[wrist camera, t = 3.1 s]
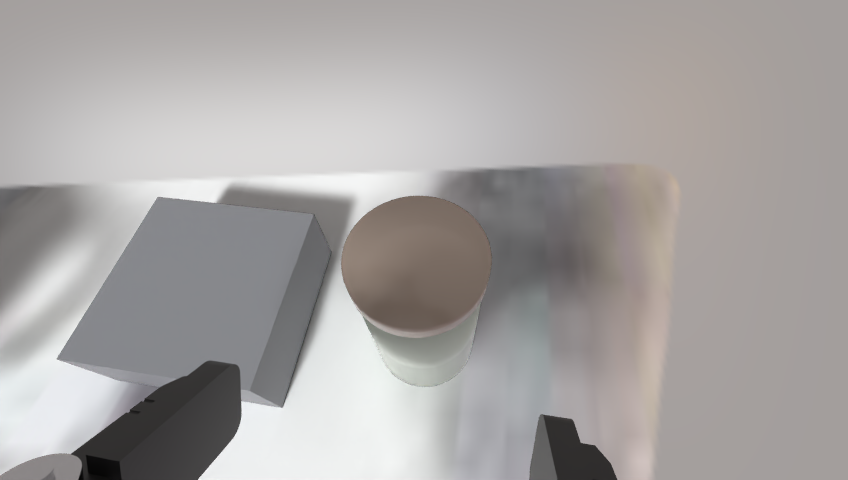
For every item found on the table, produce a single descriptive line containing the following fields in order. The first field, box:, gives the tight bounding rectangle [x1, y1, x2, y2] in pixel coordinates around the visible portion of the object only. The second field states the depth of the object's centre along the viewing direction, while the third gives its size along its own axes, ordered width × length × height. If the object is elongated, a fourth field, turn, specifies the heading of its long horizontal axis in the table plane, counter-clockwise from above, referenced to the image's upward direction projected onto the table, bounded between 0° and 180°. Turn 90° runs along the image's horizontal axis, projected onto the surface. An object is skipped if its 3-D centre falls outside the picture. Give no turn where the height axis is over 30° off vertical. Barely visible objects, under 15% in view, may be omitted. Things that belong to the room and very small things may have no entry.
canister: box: [341, 196, 492, 387], centre depth 18 cm, size 5×5×9 cm
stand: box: [57, 197, 331, 408], centre depth 21 cm, size 9×9×4 cm
